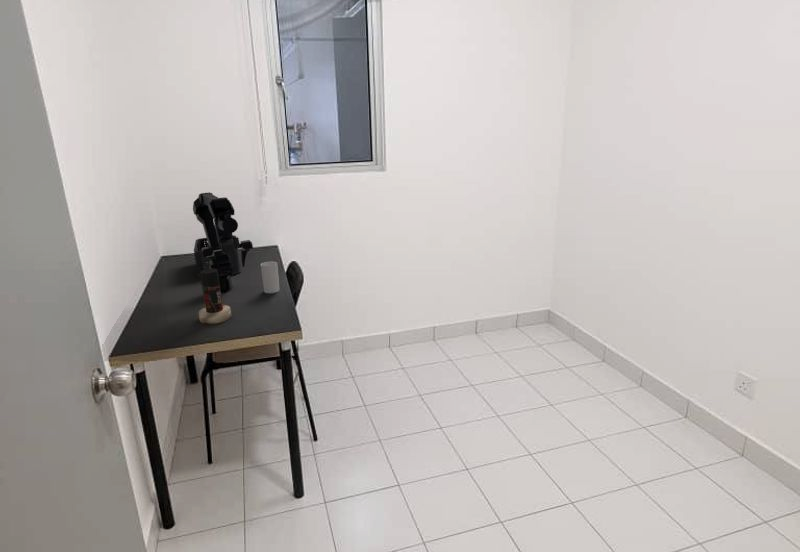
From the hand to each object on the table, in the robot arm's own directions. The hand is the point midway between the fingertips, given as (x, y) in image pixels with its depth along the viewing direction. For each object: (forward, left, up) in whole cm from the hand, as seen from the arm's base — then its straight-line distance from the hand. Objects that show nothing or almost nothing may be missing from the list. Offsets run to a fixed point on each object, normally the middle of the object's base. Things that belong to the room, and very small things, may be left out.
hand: (231, 269), depth 195 cm
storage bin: (-25, +43, -13) cm, 51 cm away
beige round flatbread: (0, -19, -13) cm, 23 cm away
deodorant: (0, -19, -10) cm, 21 cm away
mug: (+11, +11, -13) cm, 21 cm away
